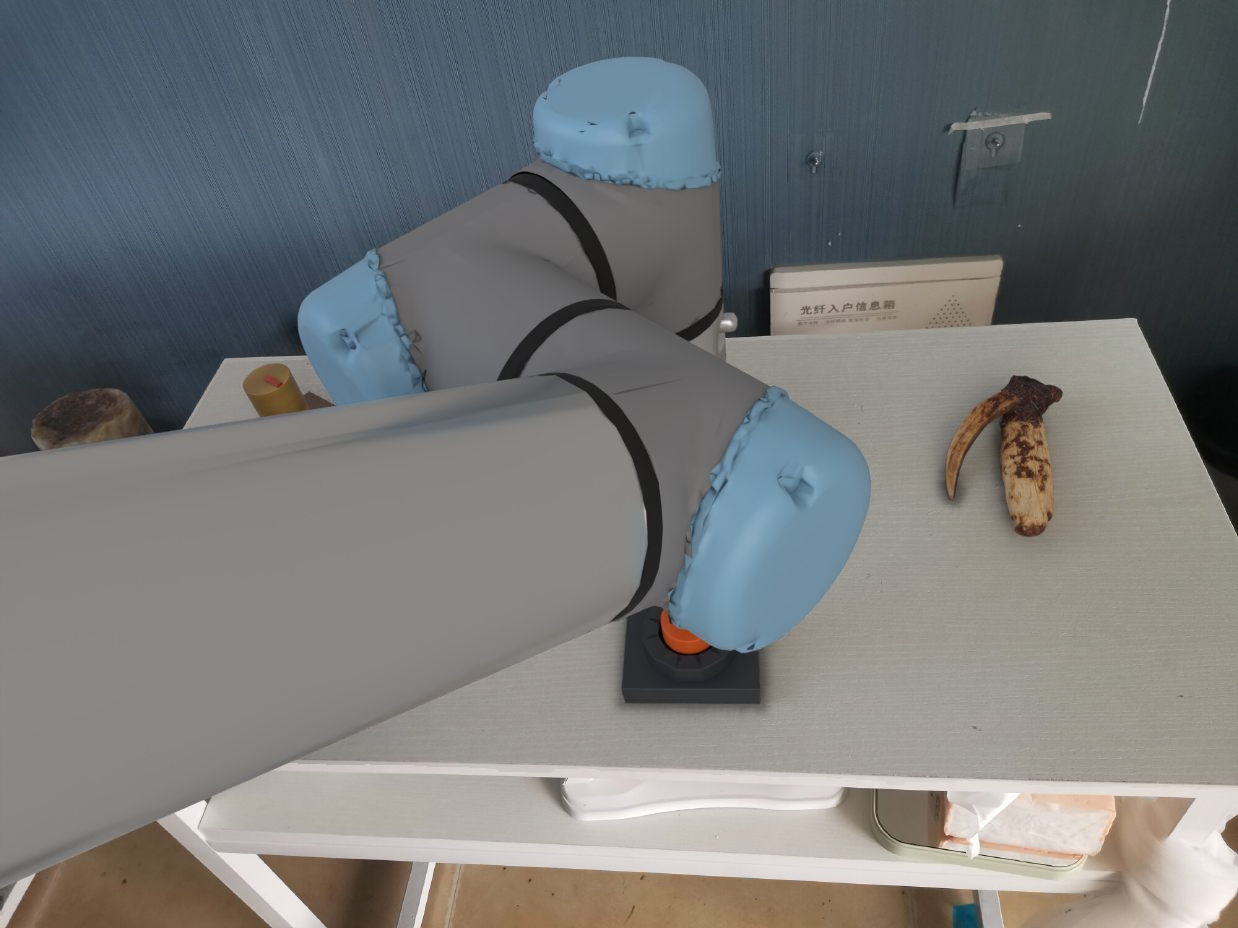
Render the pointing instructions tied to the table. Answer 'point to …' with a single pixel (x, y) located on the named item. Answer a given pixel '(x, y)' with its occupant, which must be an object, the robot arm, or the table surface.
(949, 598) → the table surface
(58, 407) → the weathered brown cylinder
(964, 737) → the table surface
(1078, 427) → the table surface
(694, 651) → the light button
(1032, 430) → the lashed bone hook
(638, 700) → the switch block
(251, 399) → the dimmer knob
